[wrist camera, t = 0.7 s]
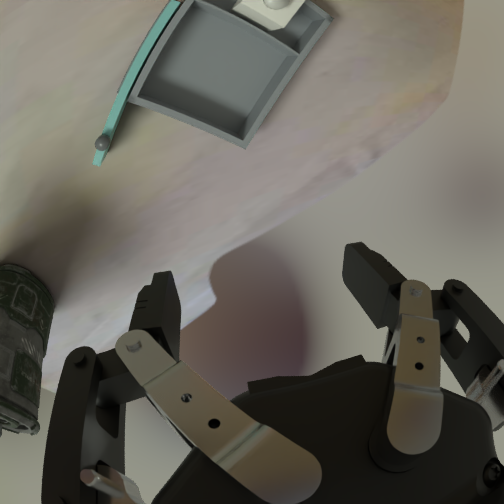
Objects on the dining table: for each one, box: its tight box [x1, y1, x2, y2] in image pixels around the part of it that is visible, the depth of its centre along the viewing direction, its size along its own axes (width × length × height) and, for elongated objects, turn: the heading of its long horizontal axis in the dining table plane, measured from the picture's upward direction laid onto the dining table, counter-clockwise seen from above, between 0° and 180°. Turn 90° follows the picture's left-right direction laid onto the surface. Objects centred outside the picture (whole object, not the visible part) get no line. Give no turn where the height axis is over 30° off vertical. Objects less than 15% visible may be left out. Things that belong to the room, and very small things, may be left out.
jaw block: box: [229, 0, 305, 32], centre depth 19 cm, size 5×4×7 cm
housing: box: [117, 0, 334, 149], centre depth 22 cm, size 16×21×4 cm
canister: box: [0, 265, 54, 437], centre depth 27 cm, size 16×16×28 cm
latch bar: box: [92, 0, 180, 166], centre depth 22 cm, size 2×20×5 cm, turn 149°
